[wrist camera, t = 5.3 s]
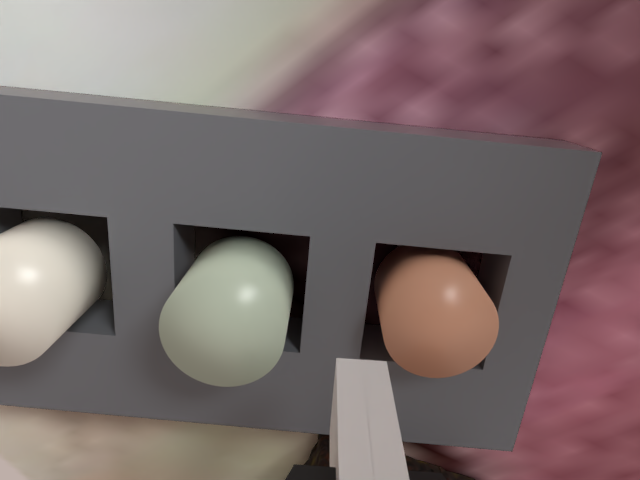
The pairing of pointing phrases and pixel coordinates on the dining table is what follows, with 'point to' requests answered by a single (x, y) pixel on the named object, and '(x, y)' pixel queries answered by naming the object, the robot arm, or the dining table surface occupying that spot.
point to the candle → (322, 458)
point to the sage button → (229, 313)
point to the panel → (294, 219)
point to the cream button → (44, 285)
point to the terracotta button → (433, 312)
